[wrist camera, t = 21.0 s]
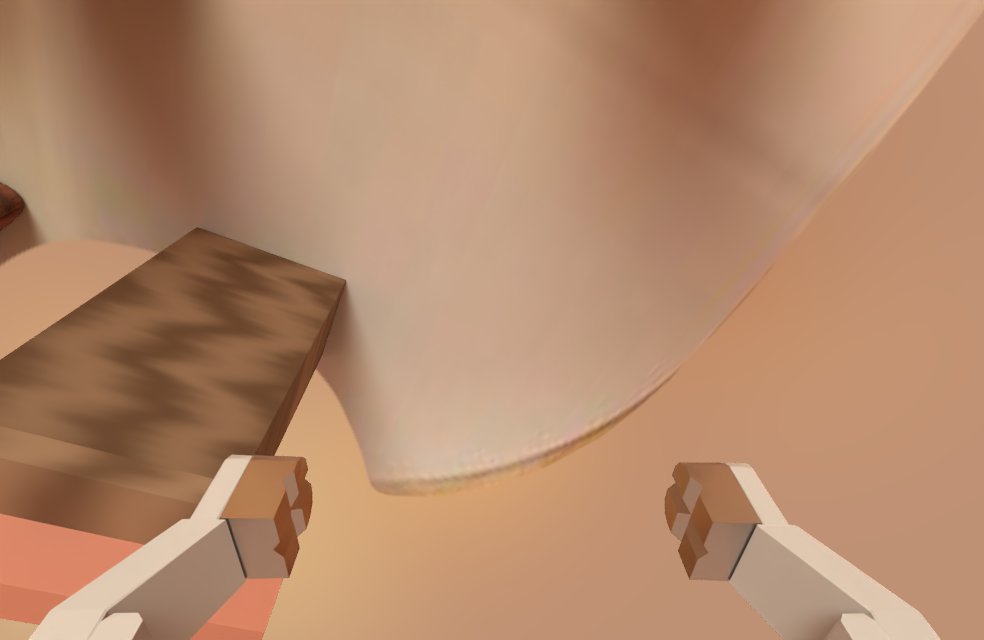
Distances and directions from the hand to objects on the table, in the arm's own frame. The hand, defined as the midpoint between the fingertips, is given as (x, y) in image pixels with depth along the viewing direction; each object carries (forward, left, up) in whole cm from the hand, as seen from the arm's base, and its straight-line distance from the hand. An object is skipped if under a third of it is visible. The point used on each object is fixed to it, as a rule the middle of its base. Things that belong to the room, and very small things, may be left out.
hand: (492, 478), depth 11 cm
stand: (+19, +13, -34) cm, 41 cm away
